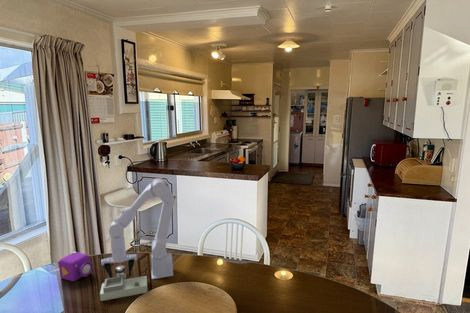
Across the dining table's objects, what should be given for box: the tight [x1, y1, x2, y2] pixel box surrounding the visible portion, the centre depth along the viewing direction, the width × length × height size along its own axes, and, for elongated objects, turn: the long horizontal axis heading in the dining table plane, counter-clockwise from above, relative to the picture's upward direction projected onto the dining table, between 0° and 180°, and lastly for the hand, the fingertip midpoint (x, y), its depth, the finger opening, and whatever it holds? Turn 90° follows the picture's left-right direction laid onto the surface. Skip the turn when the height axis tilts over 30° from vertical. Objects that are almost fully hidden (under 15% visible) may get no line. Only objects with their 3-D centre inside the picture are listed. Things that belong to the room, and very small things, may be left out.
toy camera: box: [58, 251, 93, 282], centre depth 139 cm, size 11×14×10 cm
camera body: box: [99, 275, 148, 302], centre depth 127 cm, size 18×8×5 cm, turn 107°
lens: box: [114, 265, 127, 279], centre depth 135 cm, size 4×4×6 cm
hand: (120, 277), depth 135 cm, fingers open, 7 cm apart
